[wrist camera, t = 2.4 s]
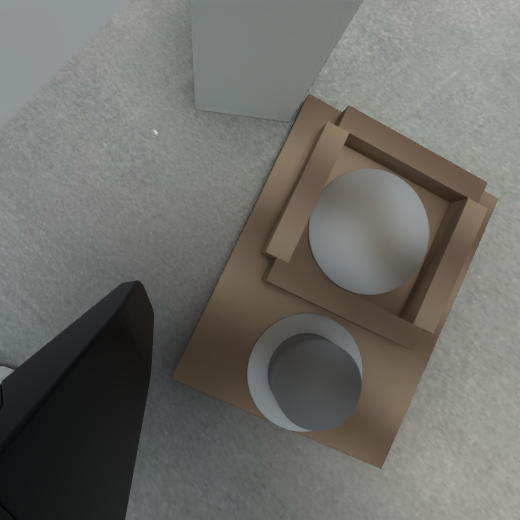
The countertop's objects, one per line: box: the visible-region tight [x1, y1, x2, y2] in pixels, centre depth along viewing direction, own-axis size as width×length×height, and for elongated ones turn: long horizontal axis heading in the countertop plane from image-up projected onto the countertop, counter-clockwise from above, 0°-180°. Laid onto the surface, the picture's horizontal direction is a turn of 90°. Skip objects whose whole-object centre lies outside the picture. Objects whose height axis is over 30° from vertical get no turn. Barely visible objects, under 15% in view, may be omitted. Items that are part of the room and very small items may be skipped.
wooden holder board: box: [172, 94, 498, 469], centre depth 20 cm, size 16×12×4 cm
